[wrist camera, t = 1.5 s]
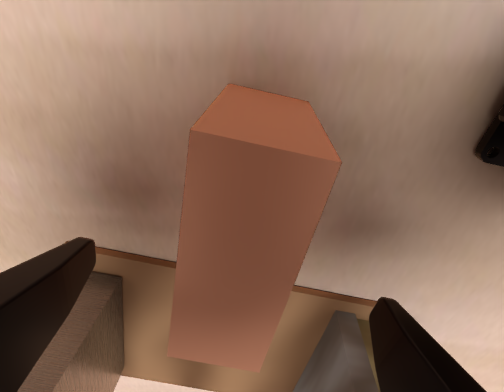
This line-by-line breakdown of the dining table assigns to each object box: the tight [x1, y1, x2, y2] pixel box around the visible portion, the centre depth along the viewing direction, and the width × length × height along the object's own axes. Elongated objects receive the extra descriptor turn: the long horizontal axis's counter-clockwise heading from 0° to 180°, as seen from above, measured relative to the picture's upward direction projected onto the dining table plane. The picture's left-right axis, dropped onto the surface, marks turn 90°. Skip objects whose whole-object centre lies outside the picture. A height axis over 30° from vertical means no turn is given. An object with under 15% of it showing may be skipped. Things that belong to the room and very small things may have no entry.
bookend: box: [17, 272, 124, 392], centre depth 17 cm, size 5×10×7 cm, turn 168°
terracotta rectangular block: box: [167, 84, 342, 373], centre depth 12 cm, size 4×9×7 cm, turn 168°
